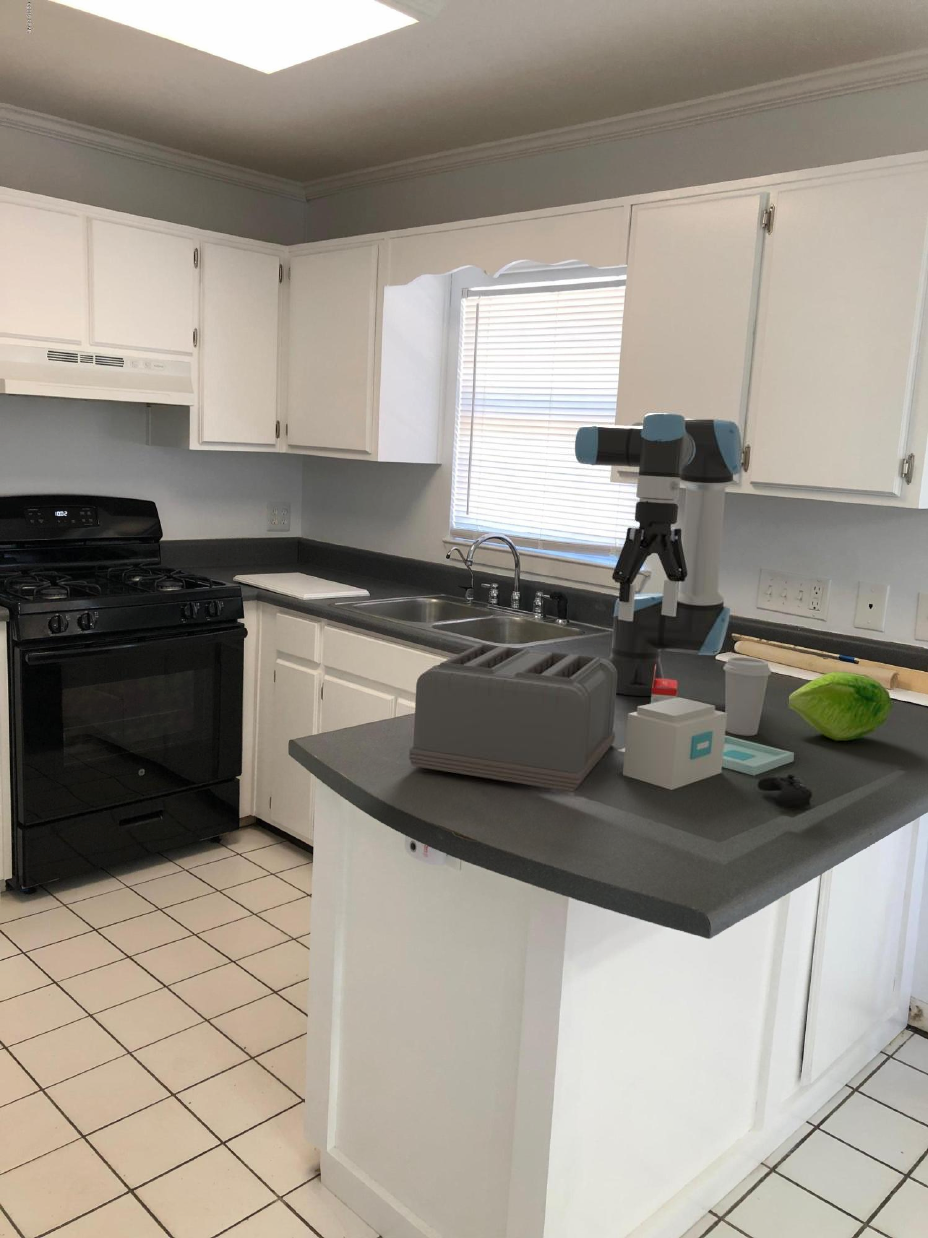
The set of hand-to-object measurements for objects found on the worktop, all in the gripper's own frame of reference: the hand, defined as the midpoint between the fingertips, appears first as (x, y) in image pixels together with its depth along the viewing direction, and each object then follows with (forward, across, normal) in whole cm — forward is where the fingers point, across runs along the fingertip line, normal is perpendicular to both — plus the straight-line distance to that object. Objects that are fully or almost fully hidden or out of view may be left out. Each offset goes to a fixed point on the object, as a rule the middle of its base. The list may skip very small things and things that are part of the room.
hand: (647, 618), depth 186 cm
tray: (+26, +15, -12) cm, 33 cm away
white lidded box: (+26, -4, -10) cm, 28 cm away
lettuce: (+26, +48, -16) cm, 57 cm away
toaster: (+27, -16, +15) cm, 34 cm away
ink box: (+26, +13, +4) cm, 30 cm away
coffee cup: (+26, +34, -2) cm, 43 cm away
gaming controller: (+27, -3, -29) cm, 40 cm away
